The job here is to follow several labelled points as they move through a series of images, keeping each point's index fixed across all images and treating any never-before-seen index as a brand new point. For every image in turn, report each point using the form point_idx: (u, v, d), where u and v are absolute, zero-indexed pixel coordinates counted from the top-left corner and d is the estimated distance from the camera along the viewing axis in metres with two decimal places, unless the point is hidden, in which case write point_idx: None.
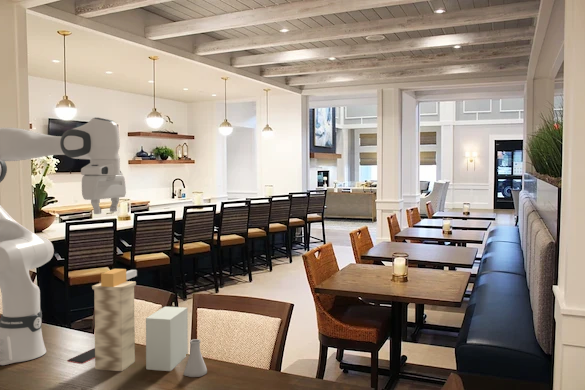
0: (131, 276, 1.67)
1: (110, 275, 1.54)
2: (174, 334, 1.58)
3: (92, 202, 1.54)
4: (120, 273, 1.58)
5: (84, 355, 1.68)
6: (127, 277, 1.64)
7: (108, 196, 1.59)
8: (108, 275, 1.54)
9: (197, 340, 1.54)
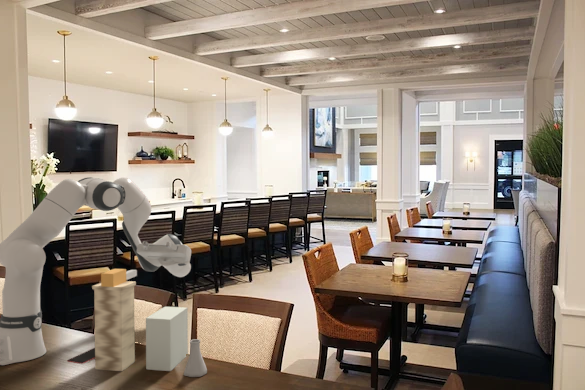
0: (131, 276, 1.67)
1: (110, 275, 1.54)
2: (174, 334, 1.58)
3: (176, 246, 1.90)
4: (120, 273, 1.58)
5: (84, 355, 1.68)
6: (127, 277, 1.64)
7: (163, 253, 1.91)
8: (108, 275, 1.54)
9: (197, 340, 1.54)
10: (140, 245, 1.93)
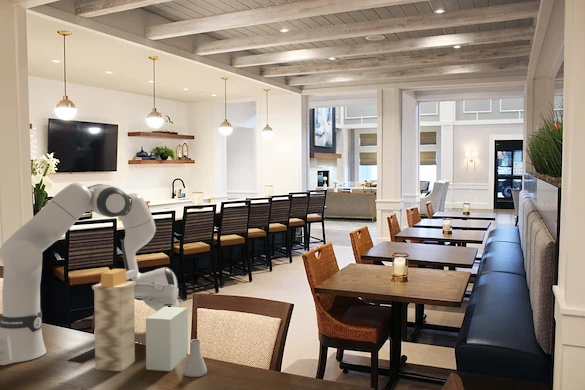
0: (131, 276, 1.67)
1: (110, 275, 1.54)
2: (174, 334, 1.58)
3: (162, 286, 1.78)
4: (120, 273, 1.58)
5: (84, 355, 1.68)
6: (127, 277, 1.64)
7: (149, 293, 1.79)
8: (108, 275, 1.54)
9: (197, 340, 1.54)
10: None
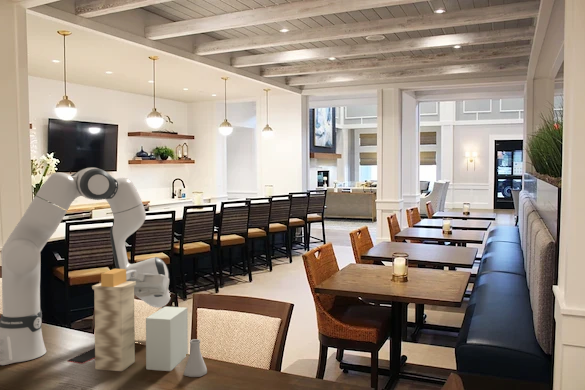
0: None
1: (110, 275, 1.54)
2: (174, 334, 1.58)
3: (143, 275, 1.70)
4: (120, 273, 1.58)
5: (84, 355, 1.68)
6: (127, 277, 1.64)
7: (137, 283, 1.71)
8: (108, 275, 1.54)
9: (197, 340, 1.54)
10: None
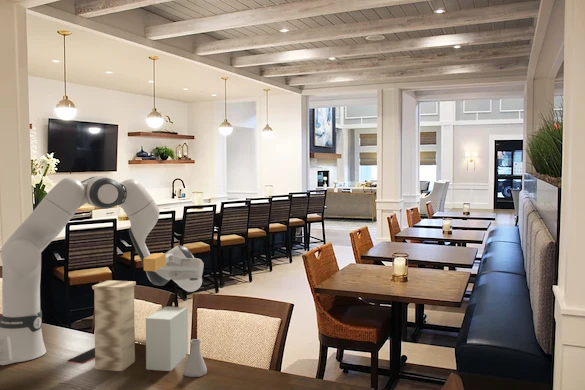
0: (169, 260, 1.74)
1: (152, 260, 1.61)
2: (174, 334, 1.58)
3: (180, 259, 1.77)
4: (160, 258, 1.65)
5: (84, 355, 1.68)
6: (166, 261, 1.71)
7: (174, 267, 1.78)
8: (150, 260, 1.61)
9: (197, 340, 1.54)
10: None
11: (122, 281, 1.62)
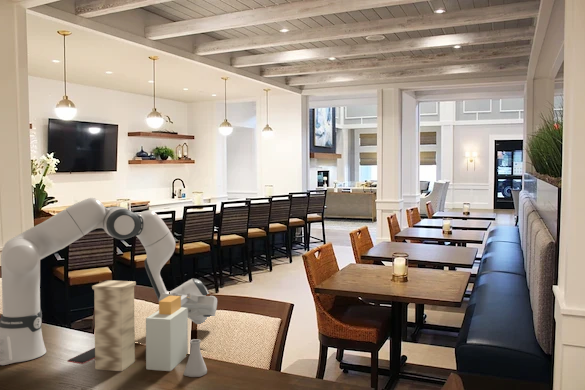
0: (184, 302, 1.73)
1: (168, 303, 1.60)
2: (174, 334, 1.58)
3: (197, 297, 1.75)
4: (176, 301, 1.64)
5: (84, 355, 1.68)
6: (181, 303, 1.70)
7: (188, 304, 1.76)
8: (166, 303, 1.60)
9: (197, 340, 1.54)
10: (163, 295, 1.79)
11: (122, 281, 1.62)
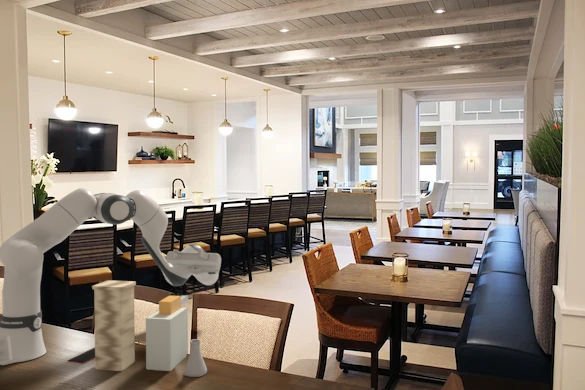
0: (184, 302, 1.73)
1: (168, 303, 1.60)
2: (174, 334, 1.58)
3: (207, 254, 1.85)
4: (176, 301, 1.64)
5: (84, 355, 1.68)
6: (181, 303, 1.70)
7: (194, 261, 1.87)
8: (166, 303, 1.60)
9: (197, 340, 1.54)
10: (170, 253, 1.89)
11: (122, 281, 1.62)
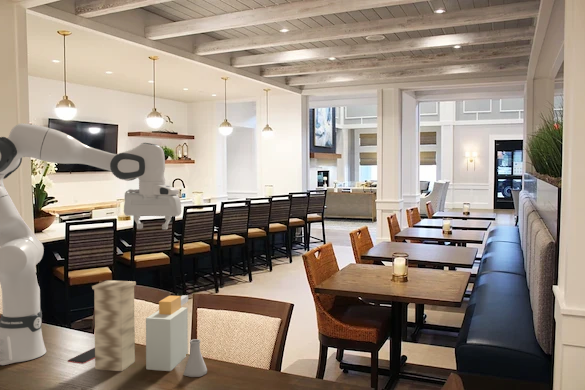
0: (184, 302, 1.73)
1: (168, 303, 1.60)
2: (174, 334, 1.58)
3: (169, 219, 1.76)
4: (176, 301, 1.64)
5: (84, 355, 1.68)
6: (181, 303, 1.70)
7: None
8: (166, 303, 1.60)
9: (197, 340, 1.54)
10: None
11: (122, 281, 1.62)
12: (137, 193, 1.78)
